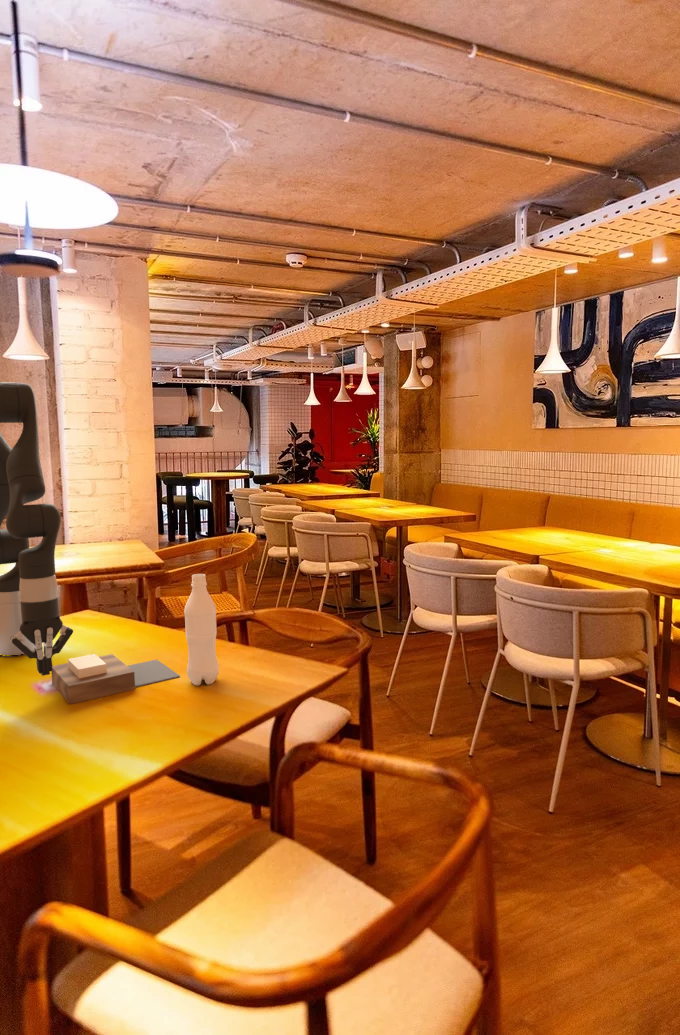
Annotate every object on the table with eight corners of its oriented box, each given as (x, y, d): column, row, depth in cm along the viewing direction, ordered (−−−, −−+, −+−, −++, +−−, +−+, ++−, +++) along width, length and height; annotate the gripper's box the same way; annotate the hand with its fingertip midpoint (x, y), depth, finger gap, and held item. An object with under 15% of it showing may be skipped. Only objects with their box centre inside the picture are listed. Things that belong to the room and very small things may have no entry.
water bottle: (225, 678, 154) (221, 573, 151) (206, 689, 147) (202, 579, 145) (200, 674, 157) (195, 571, 154) (180, 684, 150) (175, 577, 148)
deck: (52, 683, 153) (51, 666, 153) (113, 669, 161) (112, 654, 161) (69, 704, 140) (68, 686, 140) (135, 688, 148) (134, 671, 148)
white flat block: (68, 667, 152) (67, 659, 151) (95, 662, 155) (94, 653, 155) (79, 678, 144) (78, 669, 144) (106, 672, 148) (106, 663, 148)
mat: (113, 669, 161) (113, 668, 161) (156, 660, 168) (156, 659, 168) (133, 687, 149) (133, 686, 149) (180, 676, 156) (179, 675, 156)
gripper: (67, 589, 149) (72, 663, 151) (2, 598, 142) (8, 676, 144) (75, 595, 143) (81, 672, 145) (8, 604, 136) (15, 686, 138)
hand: (44, 674), depth 144 cm, fingers closed
